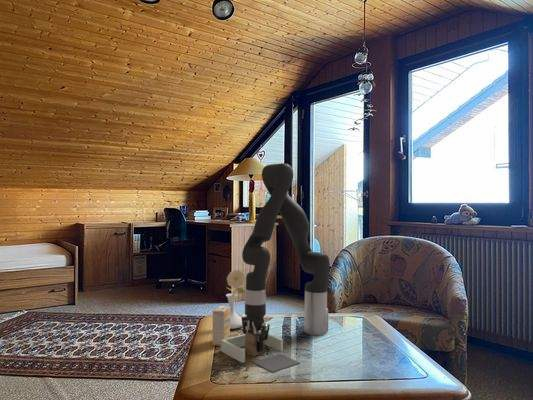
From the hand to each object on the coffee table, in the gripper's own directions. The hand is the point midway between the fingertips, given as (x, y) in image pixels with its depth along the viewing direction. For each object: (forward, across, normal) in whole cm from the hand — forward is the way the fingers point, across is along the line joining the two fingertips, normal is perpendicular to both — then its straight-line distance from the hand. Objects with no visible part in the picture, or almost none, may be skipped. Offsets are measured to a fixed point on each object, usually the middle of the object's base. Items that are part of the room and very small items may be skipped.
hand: (254, 349), depth 143 cm
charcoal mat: (+1, -12, 0) cm, 12 cm away
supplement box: (+1, +16, +4) cm, 17 cm away
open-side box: (+1, +2, 0) cm, 2 cm away
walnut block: (+1, 0, 0) cm, 1 cm away
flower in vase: (+1, +29, -10) cm, 31 cm away
